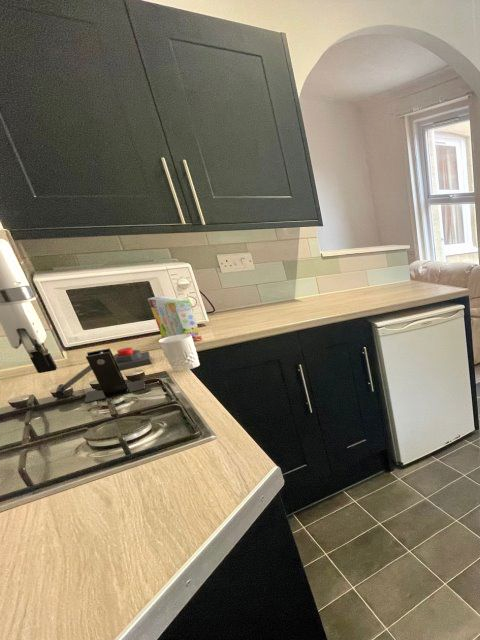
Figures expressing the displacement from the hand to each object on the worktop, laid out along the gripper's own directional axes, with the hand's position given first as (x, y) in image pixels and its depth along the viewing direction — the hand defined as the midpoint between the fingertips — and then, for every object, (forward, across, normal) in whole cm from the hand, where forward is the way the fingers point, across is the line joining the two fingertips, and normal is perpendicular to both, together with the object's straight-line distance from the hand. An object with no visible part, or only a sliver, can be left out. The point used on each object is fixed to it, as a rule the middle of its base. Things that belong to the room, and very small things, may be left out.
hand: (47, 370), depth 102 cm
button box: (+10, -26, +13) cm, 31 cm away
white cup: (+10, -8, +26) cm, 29 cm away
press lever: (+3, 0, +6) cm, 7 cm away
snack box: (+10, -52, +28) cm, 60 cm away
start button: (+6, -27, +13) cm, 30 cm away
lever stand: (+10, 0, +10) cm, 14 cm away
